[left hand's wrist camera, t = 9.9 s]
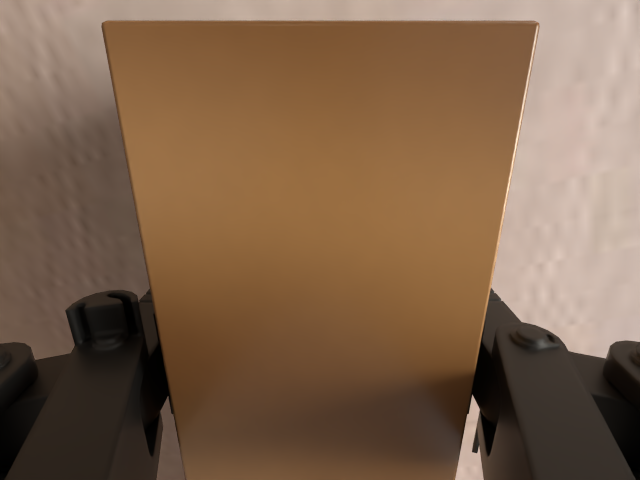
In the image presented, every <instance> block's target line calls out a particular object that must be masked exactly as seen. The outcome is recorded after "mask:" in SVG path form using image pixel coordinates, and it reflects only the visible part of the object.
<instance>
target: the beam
mask: <svg viewBox="0 0 640 480" xmlns="http://www.w3.org/2000/svg"><path fill="white" fill-rule="evenodd" d="M102 32H103V37H104V42H105V48H106V53H107V59H108V64H109V69H110V75H111V80H112V86H113V91H114V96H115V102H116V107H117V113H118V118H119V123H120V129H121V134H122V139H123V145H124V150H125V156H126V161H127V166H128V172H129V177H130V183H131V188H132V193H133V199H134V204H135V210H136V215H137V220H138V226H139V231H140V237H141V242H142V247H143V253H144V258H145V263H146V269H147V274H148V280H149V285H150V290H151V296H152V301H153V307H154V312H155V317H156V323H157V328H158V334H159V339H160V344H161V350H162V355H163V360H164V366H165V371H166V377H167V382H168V387H169V393H170V398H171V404H172V409H173V414H174V420H175V425H176V431H177V436H178V441H179V447H180V452H181V458H182V463H183V468H184V474H185V479H186V480H455V476H456V471H457V466H458V460H459V455H460V450H461V444H462V439H463V434H464V428H465V423H466V418H467V412H468V407H469V401H470V396H471V391H472V385H473V380H474V375H475V369H476V364H477V359H478V353H479V348H480V342H481V337H482V332H483V326H484V321H485V316H486V310H487V305H488V300H489V294H490V289H491V284H492V278H493V273H494V267H495V262H496V257H497V251H498V246H499V241H500V235H501V230H502V225H503V219H504V214H505V208H506V203H507V198H508V192H509V187H510V182H511V176H512V171H513V166H514V160H515V155H516V150H517V144H518V139H519V133H520V128H521V123H522V117H523V112H524V107H525V101H526V96H527V91H528V85H529V80H530V75H531V69H532V64H533V58H534V53H535V48H536V42H537V37H538V32H539V23H538V22H536V21H105V22H103V23H102Z"/></svg>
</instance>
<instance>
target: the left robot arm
mask: <svg viewBox="0 0 640 480" xmlns="http://www.w3.org/2000/svg"><path fill="white" fill-rule="evenodd" d="M139 301H140V302H138V297H137V295H135V294H134V293H132V292H129V291H124V290H114V291H106V292H100V293H96V294H93V295H90V296H87V297H84V298H82V299H80V300H79V301H77V302H75V303H73V304H72V305H71V306H70V307H69V308H68V309H67V310H66V315H67V318H68V322H69V325H70V329H71V332H72V336H73V339H74V343H75V347H74V349H73V350H72V352H71V353H70V354H65V355H60V356H55V357H50V358H44V359H39V360H35V359H34V356H33V353H32V350H31V347H29V346H28V345H26V344H25V343H16V342H12V343H4V344H0V480H156V478H157V470H158V462H159V455H160V447H161V439H162V431H163V424H162V418H161V413H160V411H161V409H162V407H163V405H164V403H165V401H166V399H167V397H169V402H170V408H171V413H172V414H173V409H172V404H171V398H170V393H169V387H168V382H167V377H166V371H165V366H164V360H163V355H162V350H161V344H160V339H159V334H158V328H157V323H156V317H155V312H154V307H153V301H152V296H151V290H150V289H149V290H148V291H147V293H146V295H144V296H143V297H142V298H141V299H140V300H139ZM472 394H473V396H474V398H475V400H476V402H477V404H478V406H479V408H480V413H479V418H478V423H477V428H476V433H475V438H474V443H473V449H472V452H474V453H477V452H478V447H479V446H480V454H481V461H482V469H483V477H484V480H640V342H635V341H619V342H615V343H614V344H612V345H611V346H610V348H609V351H608V354H607V357H606V359H605V358H600V357H594V356H589V355H584V354H579V353H574V352H570V351H568V350H567V348H566V346H565V344H564V343H563V342H562V341H561V340H560V338H559V337H557V336H556V335H554V334H553V333H551V332H550V331H548V330H546V329H543V328H541V327H538V326H536V325H532V324H527V323H523V322H521V321H520V320H519V319H518V318H517V317H516V315H515V314H514V313H513V312H512V311H511V310H510V309H509V308H508V306H507V305H506V304H505V303H504V302H503V301H501V299H500V297H499V296H498V295H497V294H496V293H494V291H493V290H492V288H491V289H490V294H489V300H488V305H487V310H486V316H485V321H484V326H483V332H482V337H481V342H480V348H479V353H478V359H477V364H476V369H475V375H474V380H473V385H472V391H471V396H470V401H469V407H468V412H467V414H469V409H470V404H471V398H472Z"/></svg>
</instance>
